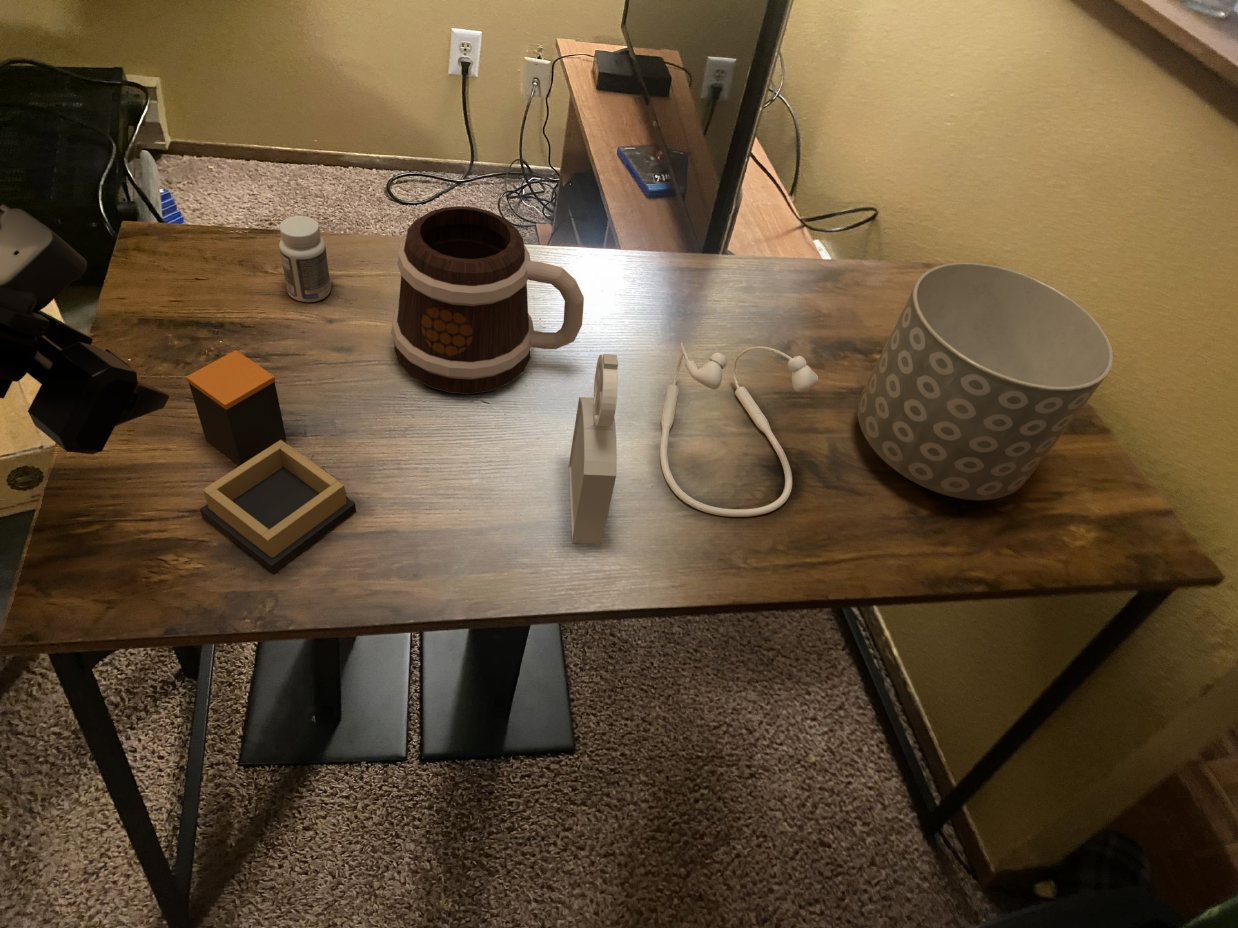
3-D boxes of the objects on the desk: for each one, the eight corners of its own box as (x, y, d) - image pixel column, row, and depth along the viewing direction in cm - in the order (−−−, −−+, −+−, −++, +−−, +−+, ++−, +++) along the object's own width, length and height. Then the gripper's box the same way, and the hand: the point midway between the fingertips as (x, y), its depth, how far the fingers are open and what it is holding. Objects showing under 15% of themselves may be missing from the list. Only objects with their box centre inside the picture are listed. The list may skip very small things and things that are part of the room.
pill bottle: (336, 282, 96) (329, 218, 90) (322, 306, 93) (313, 241, 87) (296, 275, 96) (285, 210, 90) (280, 299, 93) (268, 233, 87)
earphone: (765, 347, 94) (834, 346, 76) (756, 493, 96) (822, 525, 78) (647, 342, 91) (690, 340, 73) (640, 492, 93) (681, 525, 76)
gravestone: (596, 468, 83) (623, 323, 70) (601, 544, 76) (632, 400, 63) (568, 466, 82) (590, 321, 69) (571, 543, 76) (596, 398, 63)
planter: (820, 397, 95) (880, 262, 82) (962, 388, 100) (1039, 260, 87) (894, 527, 83) (978, 394, 70) (1051, 510, 88) (1156, 383, 75)
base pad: (273, 574, 69) (266, 547, 66) (202, 517, 72) (192, 489, 69) (356, 511, 75) (353, 484, 72) (287, 461, 77) (281, 433, 75)
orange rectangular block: (242, 468, 76) (224, 405, 70) (205, 441, 78) (185, 376, 72) (287, 439, 79) (274, 376, 73) (251, 413, 81) (235, 349, 75)
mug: (375, 387, 86) (365, 263, 75) (411, 300, 96) (407, 181, 85) (567, 418, 87) (584, 300, 76) (582, 329, 97) (599, 215, 86)
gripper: (56, 267, 45) (259, 335, 60) (-129, 135, 51) (99, 227, 66) (-36, 444, 46) (187, 468, 61) (-207, 295, 52) (35, 350, 67)
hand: (126, 372), depth 64 cm, fingers open, 9 cm apart
